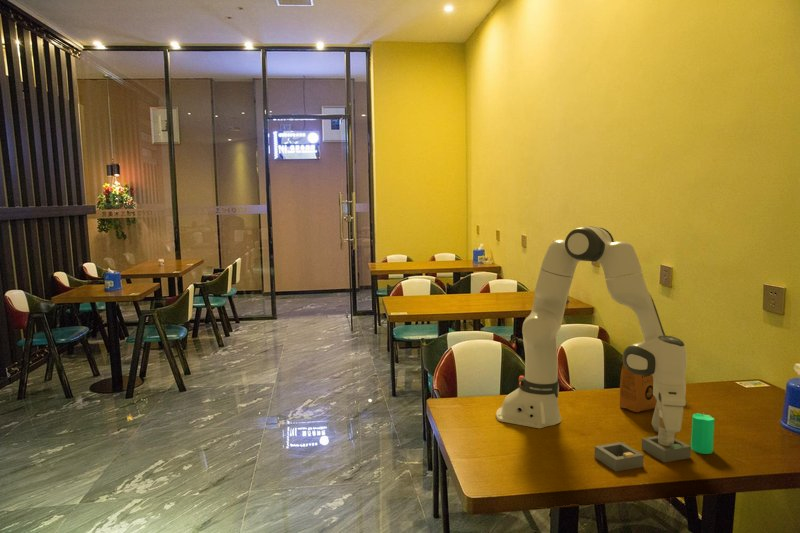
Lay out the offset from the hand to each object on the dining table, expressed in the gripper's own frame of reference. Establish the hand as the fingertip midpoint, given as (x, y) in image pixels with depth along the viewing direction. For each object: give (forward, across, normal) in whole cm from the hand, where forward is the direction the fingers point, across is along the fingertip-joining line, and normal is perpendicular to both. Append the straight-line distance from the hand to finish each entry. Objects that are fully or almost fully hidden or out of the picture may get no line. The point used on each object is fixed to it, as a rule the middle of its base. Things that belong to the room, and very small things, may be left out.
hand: (667, 435), depth 171 cm
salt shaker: (+6, -18, +1) cm, 19 cm away
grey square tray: (+6, 0, 0) cm, 6 cm away
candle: (+6, -6, +11) cm, 14 cm away
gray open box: (+6, +10, -14) cm, 18 cm away
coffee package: (+6, -38, -4) cm, 39 cm away
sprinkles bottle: (+6, 0, 0) cm, 6 cm away
